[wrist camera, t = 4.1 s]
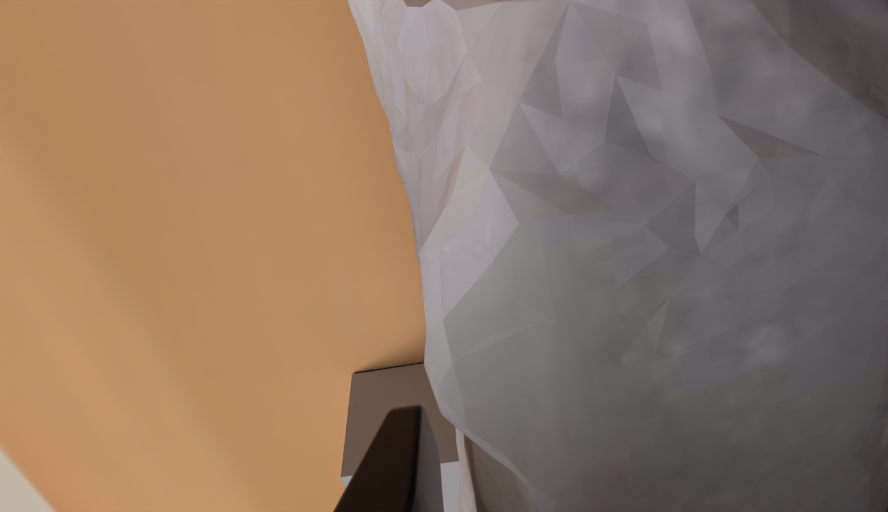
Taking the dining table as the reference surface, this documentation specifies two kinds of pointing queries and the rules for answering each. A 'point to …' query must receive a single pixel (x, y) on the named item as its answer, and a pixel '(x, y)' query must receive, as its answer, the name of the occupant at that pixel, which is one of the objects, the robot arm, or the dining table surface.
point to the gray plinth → (372, 404)
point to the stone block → (649, 246)
